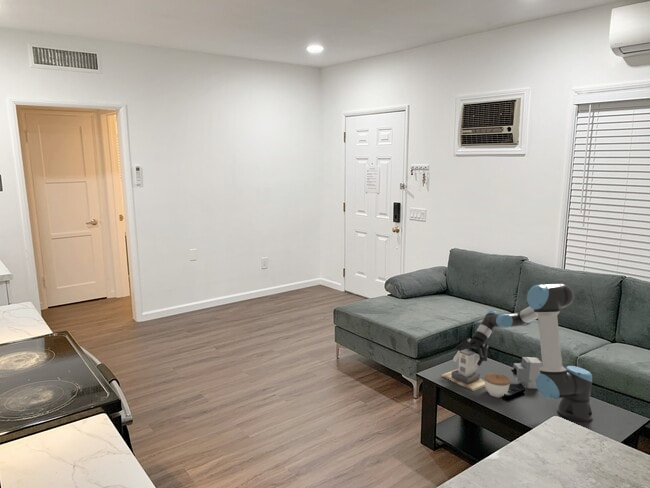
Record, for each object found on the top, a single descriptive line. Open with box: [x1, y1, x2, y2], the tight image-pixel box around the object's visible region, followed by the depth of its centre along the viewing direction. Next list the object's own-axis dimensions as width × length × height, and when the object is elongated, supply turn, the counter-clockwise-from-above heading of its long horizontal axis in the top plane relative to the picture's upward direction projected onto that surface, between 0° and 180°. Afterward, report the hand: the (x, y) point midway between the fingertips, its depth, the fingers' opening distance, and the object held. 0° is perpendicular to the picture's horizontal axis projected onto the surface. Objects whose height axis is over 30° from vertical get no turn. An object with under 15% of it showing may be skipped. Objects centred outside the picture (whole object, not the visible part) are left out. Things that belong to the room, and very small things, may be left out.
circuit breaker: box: [511, 356, 543, 390], centre depth 260 cm, size 8×14×15 cm, turn 88°
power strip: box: [457, 348, 476, 377], centre depth 263 cm, size 6×6×16 cm
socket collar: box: [451, 369, 481, 384], centre depth 265 cm, size 11×11×4 cm
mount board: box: [441, 368, 486, 392], centre depth 265 cm, size 22×14×1 cm, turn 35°
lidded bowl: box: [484, 372, 511, 398], centre depth 248 cm, size 13×13×11 cm
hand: (463, 365), depth 262 cm, fingers open, 13 cm apart
